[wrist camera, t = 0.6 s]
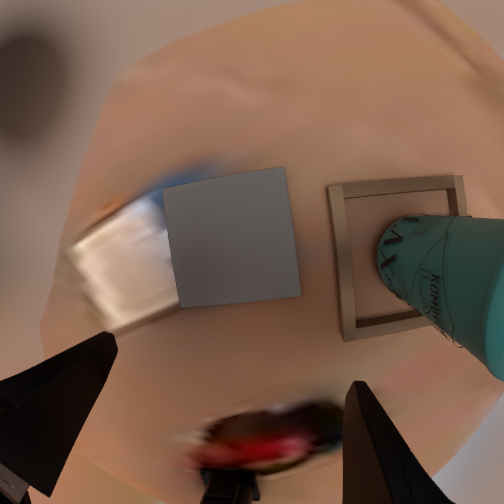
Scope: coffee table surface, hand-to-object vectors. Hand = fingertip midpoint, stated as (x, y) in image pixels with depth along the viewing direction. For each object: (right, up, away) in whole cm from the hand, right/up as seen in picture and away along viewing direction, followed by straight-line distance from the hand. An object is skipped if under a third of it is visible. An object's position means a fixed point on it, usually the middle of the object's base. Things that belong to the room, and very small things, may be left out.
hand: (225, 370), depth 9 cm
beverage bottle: (+13, +4, +12) cm, 18 cm away
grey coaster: (-1, +5, +14) cm, 15 cm away
